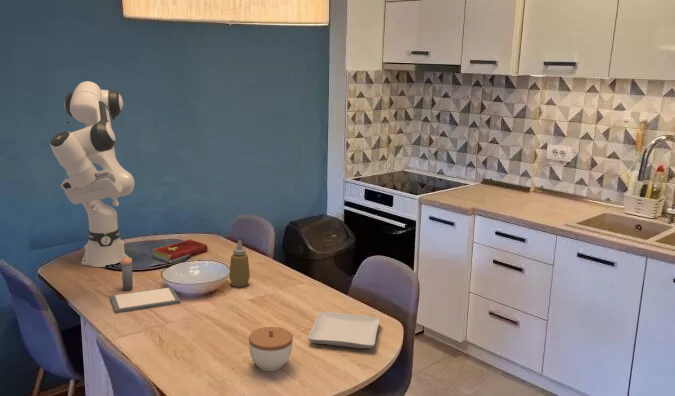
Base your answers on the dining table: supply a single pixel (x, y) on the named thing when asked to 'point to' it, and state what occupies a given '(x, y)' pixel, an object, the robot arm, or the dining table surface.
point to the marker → (127, 274)
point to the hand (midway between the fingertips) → (105, 207)
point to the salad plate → (344, 330)
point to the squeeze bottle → (239, 267)
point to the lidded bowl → (270, 347)
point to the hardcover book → (181, 249)
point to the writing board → (144, 299)
